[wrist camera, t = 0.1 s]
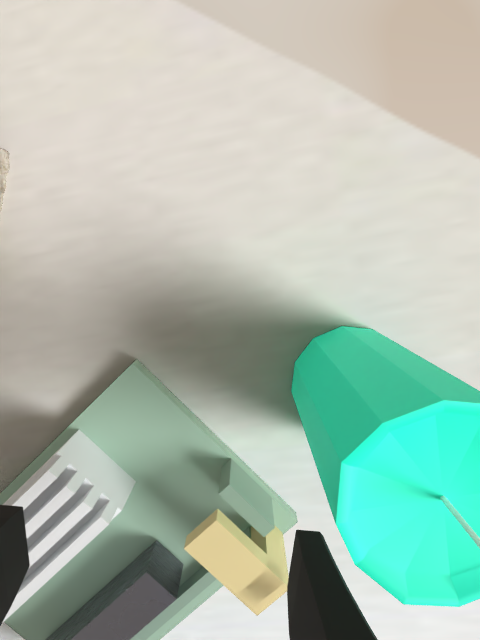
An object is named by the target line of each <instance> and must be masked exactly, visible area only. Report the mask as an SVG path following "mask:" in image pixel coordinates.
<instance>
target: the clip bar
mask: <svg viewBox="0 0 480 640" xmlns="http://www.w3.org/2000/svg"><path fill="white" fill-rule="evenodd" d="M183 565H184V564H183V563H182V562H181V561H179V560H178V559H177V558H176V557H175V556H174V555H173V554H172V553H171V552H170V551H168V550H167V549H166V548H165V547H164V546H163V545H162V544H161V543H160V542H159V541H157V540H156V541H155V542H154V543H153V544H151V545H150V546H149V547H148V548H147V549H146V550H145V551H144V552H143V553H141V554H140V555H139V556H138V557H137V558H136V559H135V560H134V561H132V562H131V563H130V564H129V565H128V566H127V567H126V568H125V569H124V570H122V571H121V572H120V573H119V574H118V575H117V576H116V577H115V578H114V579H112V580H111V581H110V582H109V583H108V584H107V585H106V586H105V587H104V588H102V589H101V590H100V591H99V592H98V593H97V594H96V595H95V596H94V597H92V598H91V599H90V600H89V601H88V602H87V603H86V604H85V605H83V606H82V607H81V608H80V609H79V610H78V611H77V612H76V613H75V614H73V615H72V616H71V617H70V618H69V619H68V620H67V621H66V622H65V623H63V624H62V625H61V626H60V627H59V628H58V629H57V630H56V631H55V632H53V633H52V634H51V635H50V636H49V637H48V638H47V639H46V640H130V639H131V638H132V637H133V636H135V635H136V634H137V633H138V632H139V631H140V630H142V629H143V628H144V627H145V626H146V625H147V624H148V623H150V622H151V621H152V620H153V619H154V618H155V617H157V616H158V615H159V614H160V613H161V612H162V611H164V610H165V609H166V608H167V607H168V606H169V605H170V604H172V603H173V602H174V601H175V600H176V599H177V595H178V590H179V585H180V580H181V575H182V570H183Z"/></svg>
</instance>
